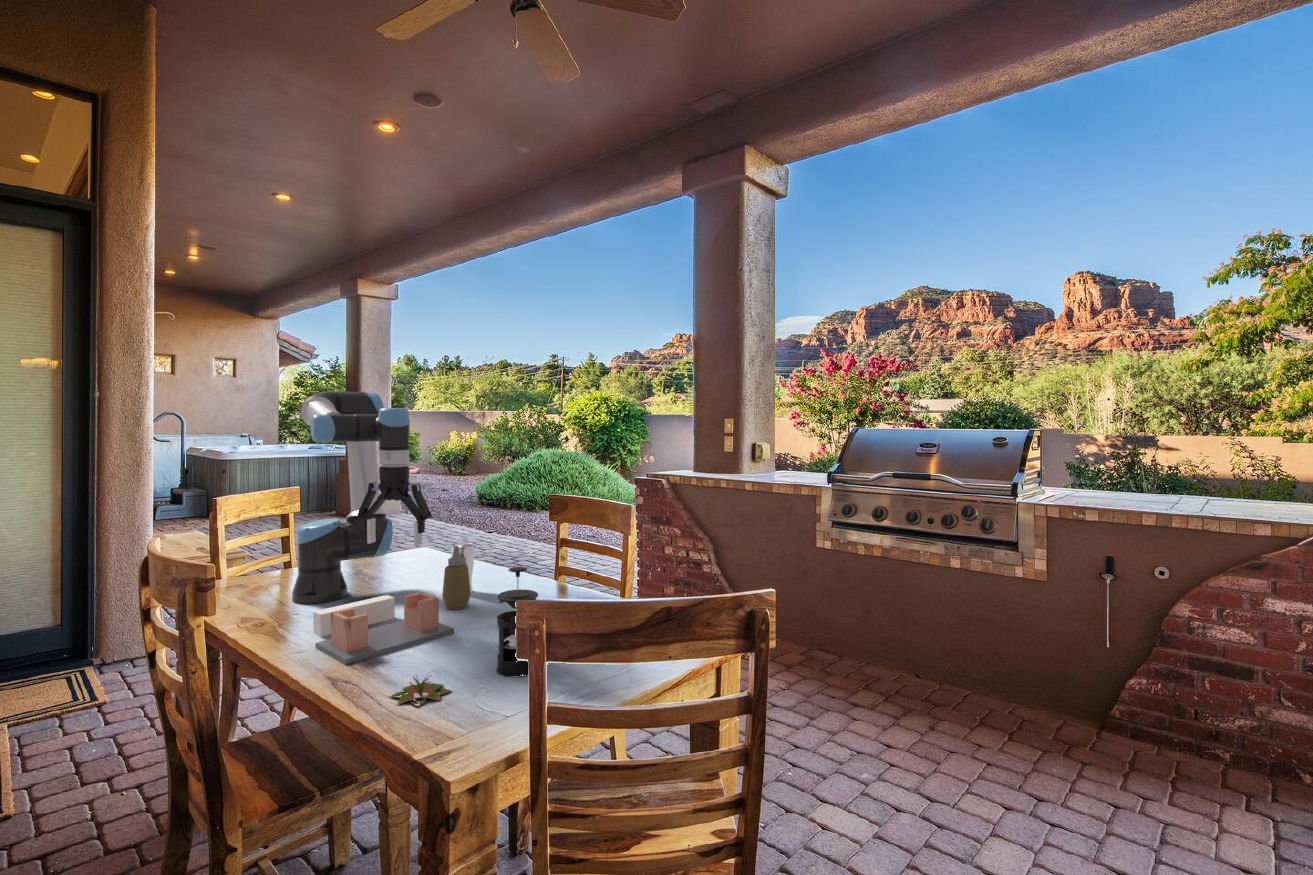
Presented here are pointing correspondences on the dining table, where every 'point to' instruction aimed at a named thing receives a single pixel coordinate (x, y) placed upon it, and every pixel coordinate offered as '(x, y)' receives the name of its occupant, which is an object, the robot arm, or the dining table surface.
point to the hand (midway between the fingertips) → (394, 543)
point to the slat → (356, 613)
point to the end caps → (383, 630)
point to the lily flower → (421, 691)
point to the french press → (507, 641)
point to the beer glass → (467, 558)
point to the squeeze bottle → (456, 582)
